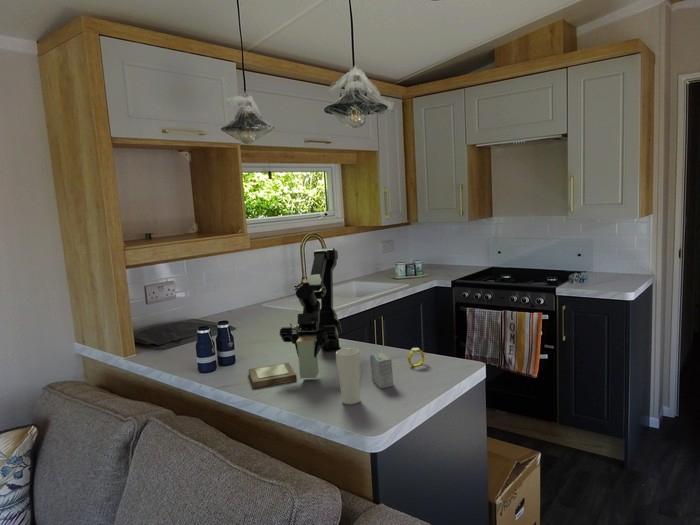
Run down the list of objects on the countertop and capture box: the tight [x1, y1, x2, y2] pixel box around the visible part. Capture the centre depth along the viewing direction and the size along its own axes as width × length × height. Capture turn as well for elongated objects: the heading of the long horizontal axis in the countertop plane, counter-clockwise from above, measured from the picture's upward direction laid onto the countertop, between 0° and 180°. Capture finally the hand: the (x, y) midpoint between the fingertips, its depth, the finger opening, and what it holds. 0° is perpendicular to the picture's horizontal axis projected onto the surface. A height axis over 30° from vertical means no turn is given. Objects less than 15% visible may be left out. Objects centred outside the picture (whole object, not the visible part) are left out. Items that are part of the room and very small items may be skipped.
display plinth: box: [248, 362, 298, 389], centre depth 178 cm, size 14×14×2 cm
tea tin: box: [296, 336, 320, 379], centre depth 172 cm, size 5×5×12 cm
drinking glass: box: [335, 347, 361, 405], centre depth 152 cm, size 7×7×15 cm
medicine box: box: [369, 352, 394, 389], centre depth 164 cm, size 8×4×9 cm, turn 17°
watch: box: [407, 347, 426, 368], centre depth 179 cm, size 6×3×6 cm, turn 118°
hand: (306, 357), depth 170 cm, fingers closed on tea tin, 5 cm apart
